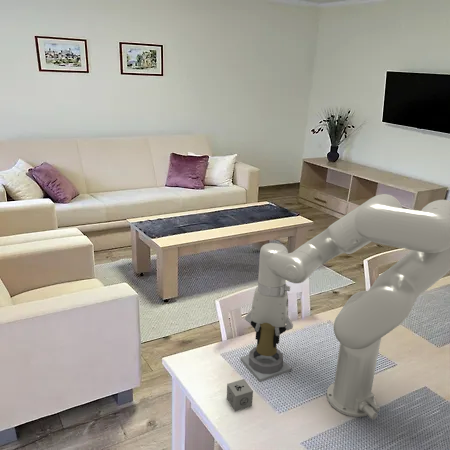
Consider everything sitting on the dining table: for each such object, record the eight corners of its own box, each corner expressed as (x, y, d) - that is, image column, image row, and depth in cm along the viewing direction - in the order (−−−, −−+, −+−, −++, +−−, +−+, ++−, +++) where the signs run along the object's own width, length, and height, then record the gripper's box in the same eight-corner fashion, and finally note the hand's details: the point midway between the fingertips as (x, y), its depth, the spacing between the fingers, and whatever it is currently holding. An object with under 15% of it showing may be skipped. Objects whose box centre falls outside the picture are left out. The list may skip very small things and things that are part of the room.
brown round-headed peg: (263, 341, 129) (266, 309, 126) (280, 349, 126) (283, 316, 122) (252, 350, 125) (254, 317, 121) (269, 358, 121) (272, 325, 118)
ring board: (291, 371, 125) (292, 361, 124) (259, 382, 120) (260, 372, 119) (270, 350, 134) (271, 341, 133) (240, 360, 129) (240, 350, 128)
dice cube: (226, 399, 114) (227, 383, 112) (243, 394, 116) (244, 378, 114) (234, 412, 109) (235, 396, 108) (252, 406, 111) (253, 390, 110)
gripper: (303, 286, 119) (297, 342, 126) (245, 276, 124) (242, 330, 130) (299, 298, 113) (293, 357, 119) (238, 288, 117) (236, 344, 123)
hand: (267, 342), depth 124 cm, fingers closed on brown round-headed peg, 4 cm apart
